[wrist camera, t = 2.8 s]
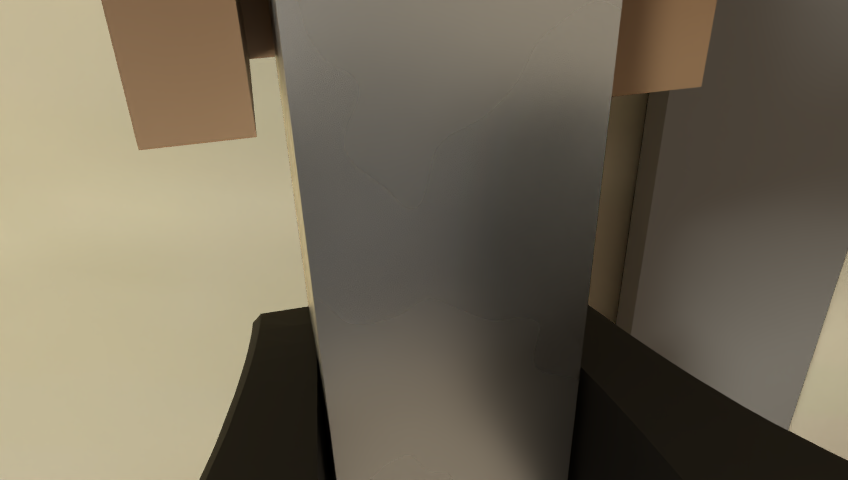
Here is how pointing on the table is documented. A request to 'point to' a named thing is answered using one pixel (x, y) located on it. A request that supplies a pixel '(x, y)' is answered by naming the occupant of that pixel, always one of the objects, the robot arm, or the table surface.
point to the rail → (447, 223)
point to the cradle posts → (252, 38)
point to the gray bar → (745, 204)
